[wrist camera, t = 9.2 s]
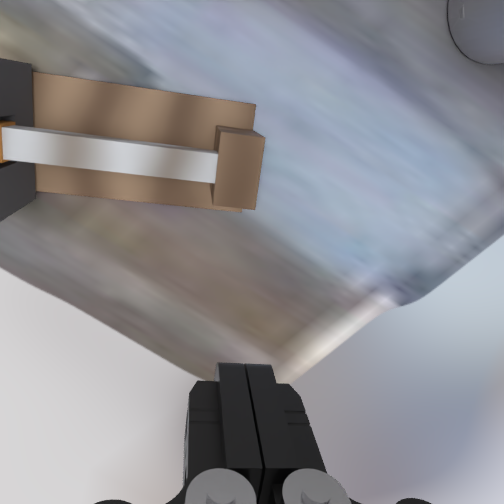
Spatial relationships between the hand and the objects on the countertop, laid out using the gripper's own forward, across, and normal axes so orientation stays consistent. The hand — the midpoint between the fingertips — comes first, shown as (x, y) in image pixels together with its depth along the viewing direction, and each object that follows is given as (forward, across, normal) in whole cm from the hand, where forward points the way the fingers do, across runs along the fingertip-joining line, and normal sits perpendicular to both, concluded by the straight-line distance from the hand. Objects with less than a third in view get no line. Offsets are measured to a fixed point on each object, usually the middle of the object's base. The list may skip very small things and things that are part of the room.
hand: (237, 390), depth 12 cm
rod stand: (+27, +9, -3) cm, 29 cm away
